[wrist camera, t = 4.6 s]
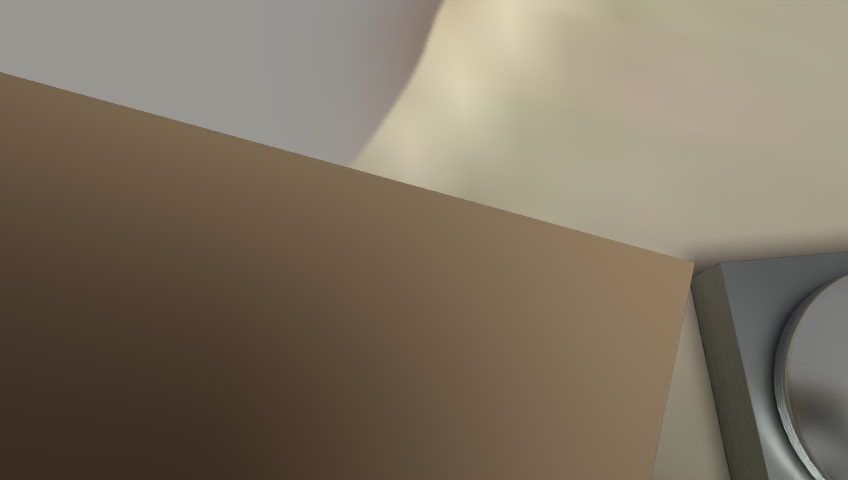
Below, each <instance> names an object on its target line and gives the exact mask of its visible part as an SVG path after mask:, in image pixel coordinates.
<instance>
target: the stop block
mask: <svg viewBox="0 0 848 480" xmlns="http://www.w3.org/2000/svg"><path fill="white" fill-rule="evenodd" d="M694 265H695V263H693V262H690V261H686V260H682V259H679V258H675V257H671V256H668V255H664V254H660V253H657V252H653V251H649V250H646V249H642V248H639V247H635V246H631V245H628V244H624V243H620V242H617V241H613V240H609V239H606V238H602V237H598V236H595V235H591V234H588V233H584V232H580V231H577V230H573V229H569V228H566V227H562V226H558V225H555V224H551V223H547V222H544V221H540V220H537V219H533V218H529V217H526V216H522V215H518V214H515V213H511V212H507V211H504V210H500V209H496V208H493V207H489V206H486V205H482V204H478V203H475V202H471V201H467V200H464V199H460V198H456V197H453V196H449V195H445V194H442V193H438V192H435V191H431V190H427V189H424V188H420V187H416V186H413V185H409V184H405V183H402V182H398V181H394V180H391V179H387V178H384V177H380V176H376V175H373V174H369V173H365V172H362V171H358V170H354V169H351V168H347V167H343V166H340V165H336V164H333V163H329V162H325V161H321V160H318V159H314V158H311V157H307V156H303V155H300V154H296V153H292V152H289V151H285V150H282V149H278V148H274V147H271V146H267V145H263V144H260V143H256V142H252V141H248V140H245V139H241V138H237V137H234V136H231V135H227V134H223V133H220V132H216V131H212V130H209V129H205V128H201V127H198V126H194V125H190V124H187V123H183V122H180V121H176V120H172V119H168V118H165V117H161V116H158V115H153V114H150V113H146V112H143V111H139V110H136V109H132V108H128V107H125V106H121V105H117V104H114V103H110V102H106V101H103V100H99V99H96V98H92V97H88V96H85V95H81V94H77V93H74V92H70V91H66V90H63V89H59V88H56V87H52V86H48V85H45V84H41V83H37V82H34V81H29V80H26V79H23V78H19V77H15V76H12V75H8V74H5V73H1V72H0V480H650V479H651V474H652V470H653V465H654V460H655V455H656V450H657V445H658V440H659V435H660V430H661V426H662V421H663V416H664V411H665V406H666V401H667V396H668V391H669V387H670V382H671V377H672V372H673V367H674V362H675V357H676V352H677V348H678V343H679V338H680V333H681V328H682V323H683V318H684V313H685V309H686V304H687V299H688V294H689V289H690V284H691V279H692V274H693V270H694Z"/></svg>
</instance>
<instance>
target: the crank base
mask: <svg viewBox="0 0 848 480" xmlns="http://www.w3.org/2000/svg"><path fill="white" fill-rule="evenodd" d="M847 274H848V252H839V253H827V254H816V255H804V256H793V257H781V258H770V259H758V260H746V261H735V262H723V263H719V264H717V265H715V266H713V267H711V268H709V269H707V270H705V271H704V272H702V273H700V274H698V275H696V276H694V277H692V279H691V288H692V293H693V297H694V302H695V307H696V312H697V317H698V321H699V326H700V331H701V336H702V341H703V345H704V350H705V355H706V360H707V365H708V369H709V374H710V379H711V384H712V389H713V393H714V398H715V403H716V408H717V413H718V417H719V422H720V427H721V432H722V437H723V441H724V446H725V451H726V456H727V461H728V465H729V470H730V475H731V480H816V479H815V478H814V477H813V476H812V474H811V473H810V471H809V470H808V469H807V467H806V466H805V465H804V463H803V462H802V461H801V459H800V458H799V456H798V454H797V453H796V451H795V449H794V447H793V446H792V444H791V442H790V440H789V438H788V435H787V433H786V431H785V429H784V426H783V424H782V420H781V417H780V414H779V410H778V407H777V402H776V396H775V390H774V364H775V355H776V351H777V347H778V343H779V339H780V337H781V335H782V332H783V330H784V327H785V325H786V323H787V322H788V320H789V319H790V317H791V315H792V314H793V312H794V311H795V310H796V309H797V307H798V306H799V305H800V304H801V303H802V301H803V300H804V299H806V298H807V297H808V296H809V295H810V294H811V293H813V292H814V291H815V290H817V289H818V288H820V287H821V286H823V285H824V284H826V283H828V282H830V281H832V280H834V279H836V278H839V277H841V276H844V275H847Z"/></svg>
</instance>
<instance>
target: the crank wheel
mask: <svg viewBox="0 0 848 480" xmlns="http://www.w3.org/2000/svg"><path fill="white" fill-rule="evenodd" d="M774 390H775V396H776V402H777V407H778V410H779V414H780V417H781V420H782V424H783V426H784V429H785V431H786V433H787V435H788V438H789V440H790V442H791V444H792V446H793V447H794V449H795V451H796V453H797V454H798V456H799V458H800V459H801V461H802V462H803V463H804V465H805V466H806V467H807V469H808V470H809V471H810V473H811V474H812V476H813V477H814V478H815V479H816V480H848V274H847V275H844V276H841V277H839V278H836V279H834V280H832V281H830V282H828V283H826V284H824V285H823V286H821V287H820V288H818V289H817V290H815V291H814V292H813V293H811V294H810V295H809V296H808V297H807V298H806V299H804V300H803V301H802V303H801V304H800V305H799V306H798V307H797V309H796V310H795V311H794V312H793V314H792V315H791V317H790V319H789V320H788V322H787V323H786V325H785V327H784V330H783V332H782V335H781V337H780V339H779V343H778V347H777V351H776V355H775V364H774Z"/></svg>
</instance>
